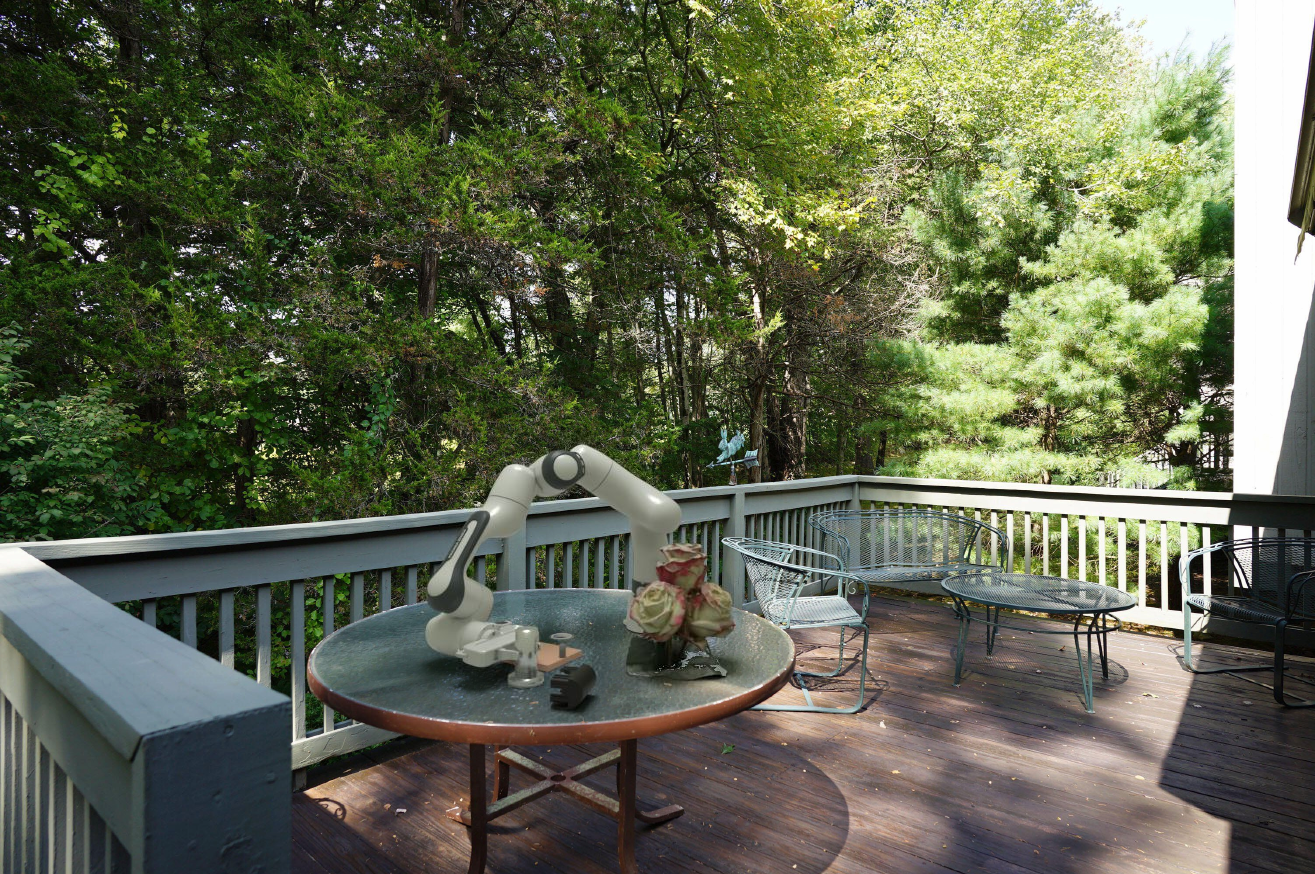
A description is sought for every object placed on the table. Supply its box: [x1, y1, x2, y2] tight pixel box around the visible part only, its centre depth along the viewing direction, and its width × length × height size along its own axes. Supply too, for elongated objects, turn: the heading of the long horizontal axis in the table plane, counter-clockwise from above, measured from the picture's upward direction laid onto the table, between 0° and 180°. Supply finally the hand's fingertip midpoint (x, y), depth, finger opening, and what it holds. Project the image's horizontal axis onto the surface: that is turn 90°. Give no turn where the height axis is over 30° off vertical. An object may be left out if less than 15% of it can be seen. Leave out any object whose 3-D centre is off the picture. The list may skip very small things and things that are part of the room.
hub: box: [507, 625, 545, 690], centre depth 161 cm, size 8×8×12 cm
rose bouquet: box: [625, 541, 736, 681], centre depth 175 cm, size 26×29×30 cm
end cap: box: [549, 663, 597, 711], centre depth 150 cm, size 10×7×7 cm
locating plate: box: [501, 641, 583, 673], centre depth 177 cm, size 14×14×4 cm
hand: (529, 651), depth 160 cm, fingers open, 5 cm apart
